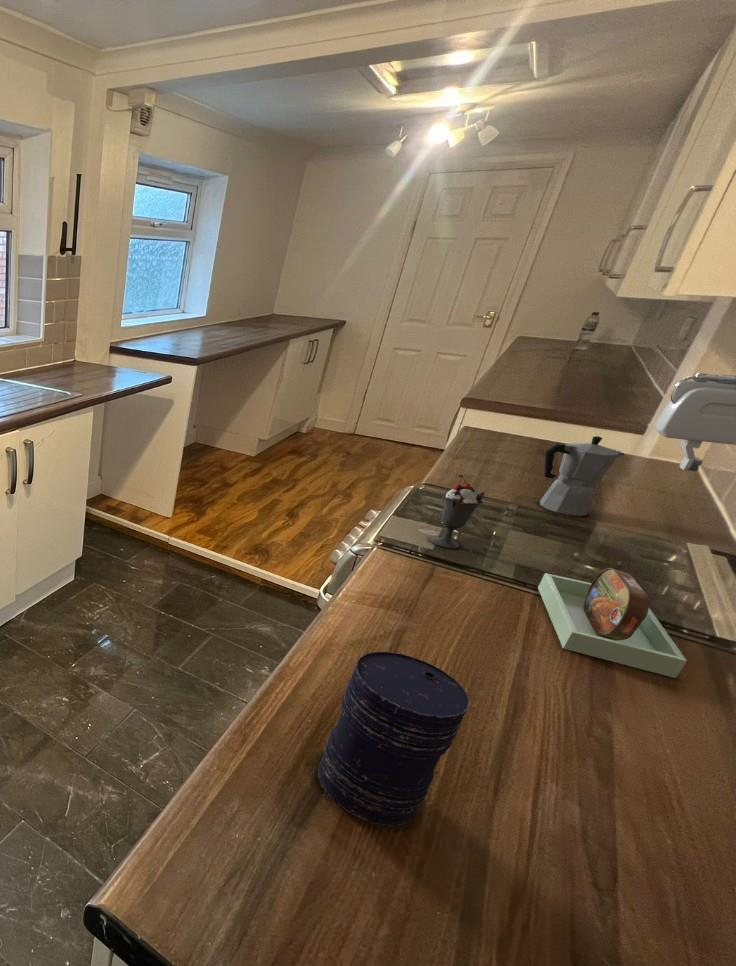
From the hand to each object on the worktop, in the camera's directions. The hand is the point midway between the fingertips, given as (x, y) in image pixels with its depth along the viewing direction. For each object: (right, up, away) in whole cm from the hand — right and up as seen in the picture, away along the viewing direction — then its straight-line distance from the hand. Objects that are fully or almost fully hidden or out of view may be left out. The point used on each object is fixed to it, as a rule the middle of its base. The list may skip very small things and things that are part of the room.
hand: (732, 475), depth 85 cm
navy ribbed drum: (-67, -37, -21) cm, 79 cm away
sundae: (-16, -10, +36) cm, 41 cm away
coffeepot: (+26, -2, +56) cm, 62 cm away
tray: (-11, -24, +9) cm, 28 cm away
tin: (-10, -23, +9) cm, 27 cm away
